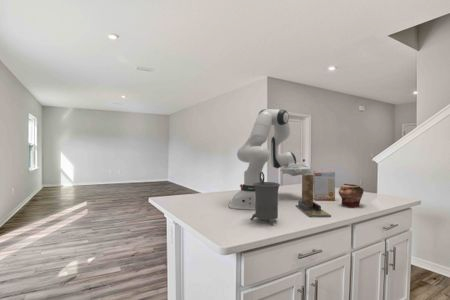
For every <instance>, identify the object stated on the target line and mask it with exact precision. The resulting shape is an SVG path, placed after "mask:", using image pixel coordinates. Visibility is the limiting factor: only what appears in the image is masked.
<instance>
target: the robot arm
mask: <svg viewBox="0 0 450 300" xmlns="http://www.w3.org/2000/svg"><path fill="white" fill-rule="evenodd" d="M289 116H290V115H289V113H288V111H287V110H285V109H275V108H269V109H261V110H260V111H259V112H258V115H257V117H256V120H255V122H254V124H253V127H252V128H251V132H250V134H249V137H248V139H247V140H246V141H245V143H244V144H243V145H241V147H240V148H238V149H237V152H236V156H237V159H238V160H239V161H241V162H244V163H248V167H247V169H245V170H244V172H243V183H240V184H239V187H240V190H239V191H238V192H236V193H235V194H234V195H233V196H232V200H231V202H230V203H228V207H229V208H230V209H232V210H233V209H234V210H250V211H251V210H252V211H253V210H254V211H255V187H254V185H253V184H254V183H256V182H260V178H259V176H260V172H263V169H264V167H265V164H266V163H267V162H268V161H269V160H270V163H271V166H272V167H273V168H274V169H279V168H281V169H280V172H282V174H285V175H286V174H287V175H290V176H292V177H297V176H302V174H311V173H312V169H311V168H310V167H308V166H306V165H301V164H300V165H299V164H297V158H296V156H295V154H294V153H293V152H291V151H290V150H289V151H287V152H286V151H285V152H282V153H280V154H278V147H279V145H280V144H282V143H283V142H284V141H286V140H287V139H288V138H289V136H290V135H291V127H290V122H289V119H290V117H289ZM272 126H273V129H274V133H273V136H272V137H271V140H270V141H271V142H270V143H271V144H270V148H271V151H269V149H268V148H267V147H265V146H262V145H263V144H264V143H266V142H267V140H268V137H269V135H270V132H271V127H272ZM270 152H271V153H270ZM270 155H271V157H270ZM311 175H312V174H311Z"/></svg>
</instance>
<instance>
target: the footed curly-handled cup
mask: <svg viewBox="0 0 450 300" xmlns="http://www.w3.org/2000/svg"><path fill="white" fill-rule="evenodd" d="M259 178H260V182H256V183H254V184H253V185H254V187H255V210H254V213H253V214H252V216H251V217H250V220H254V219H255V218H256V219H258V220H264V221H269V223H270V225H271V227H274V220H277V219H279V216H278V215H279V200H278V199H279V197H278V196H279V188H280V186H281V184H280V183H279V182H275V181H265V174H264V171H262V172H260V176H259Z"/></svg>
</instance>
